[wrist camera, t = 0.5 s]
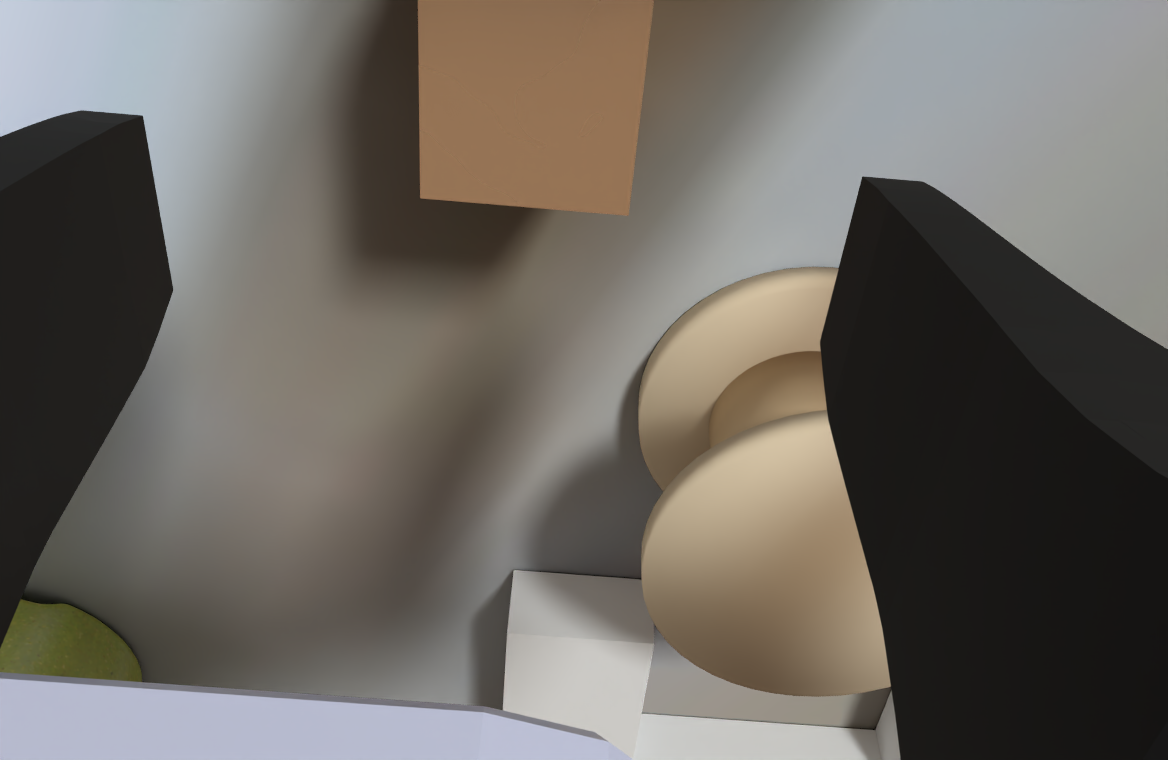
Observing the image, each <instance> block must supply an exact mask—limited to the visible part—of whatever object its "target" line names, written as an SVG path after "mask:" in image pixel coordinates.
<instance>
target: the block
mask: <svg viewBox="0 0 1168 760" xmlns="http://www.w3.org/2000/svg"><path fill="white" fill-rule="evenodd" d="M653 3H654V0H418V49H419V135H420V198H422V199H434V200H446V201H458V202H470V203H482V204H494V205H506V206H519V207H531V208H543V209H555V210H567V211H579V212H591V213H603V214H615V215H627V216H628V215H629V206H630V198H631V189H632V181H633V173H634V164H635V156H636V147H637V139H638V130H639V122H640V113H641V105H642V96H643V88H644V79H645V71H646V62H647V54H648V46H649V37H650V29H651V20H652V12H653Z"/></svg>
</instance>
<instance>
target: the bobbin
mask: <svg viewBox="0 0 1168 760" xmlns="http://www.w3.org/2000/svg"><path fill="white" fill-rule="evenodd" d="M838 269H839V268H833V267H801V268H790V269H783V270H778V271H773V272H767V273H763V274H760V275H756V276H753V277H750V278H747V279H744V280H741V281H738V282H736V283H734V284H732V285H729V286H727V287H725V288H722V289H720V290H719V291H717V292H715V293H713V294H712V295H710V296H708V297H707V298H705V299H703V300H702V301H700V302H699V303H698V304H696V305H695V306H694V307H692V308H691V309H690V310H688V311H687V312H686V313H684V314H683V315H682V316H681V317H680V318H679V319H678V320H677V321H676V322H675V323H674V324H673V325H672V326H671V327H670V328H669V330H668V331H667V332H666V333H665V335H664V336H663V337H662V338H661V340H660V341H659V342H658V344H657V346H656V347H655V349H654V351H653V353H652V354H651V356H650V358H649V360H648V363H647V365H646V368H645V370H644V373H643V376H642V380H641V385H640V389H639V402H638V421H639V437H640V446H641V450H642V453H643V457H644V460H645V463H646V465H647V467H648V469H649V471H650V473H651V475H652V477H653V478H654V480H655V481H656V483H657V484H658V485H659V487H660V488H661V490H662V491H663V493H662V494H661V496H660V498H659V499H658V501H657V502H656V504H655V505H654V507H653V509H652V512H651V514H650V516H649V518H648V521H647V523H646V527H645V531H644V535H643V539H642V551H641V577H642V588H643V596H644V600H645V603H646V606H647V609H648V612H649V615H650V617H651V618H652V620H653V622H654V624H655V626H656V628H657V629H658V630H659V632H660V633H661V634H662V636H663V637H664V638H665V639H666V641H667V642H668V643H669V644H670V645H671V646H672V647H673V648H674V649H675V650H676V651H677V652H678V653H680V654H681V655H682V656H683V657H685V658H686V659H688V660H689V661H690V662H692V663H693V664H694V665H696V666H698V667H699V668H701V669H703V670H705V671H707V672H709V673H710V674H712V675H714V676H717V677H719V678H722V679H724V680H726V681H729V682H731V683H734V684H738V685H741V686H744V687H747V688H751V689H755V690H760V691H765V692H770V693H776V694H784V695H793V696H818V697H819V696H839V695H848V694H856V693H864V692H869V691H874V690H878V689H883V688H888V687H891V684H890V677H889V670H888V663H887V656H886V650H885V643H884V636H883V630H882V625H881V620H880V616H879V611H878V607H877V602H876V598H875V593H874V589H873V585H872V582H871V578H870V574H869V571H868V567H867V563H866V560H865V556H864V552H863V549H862V545H861V541H860V538H859V534H858V530H857V527H856V523H855V519H854V516H853V512H852V508H851V505H850V501H849V497H848V494H847V490H846V486H845V483H844V479H843V475H842V471H841V468H840V464H839V460H838V456H837V452H836V449H835V445H834V441H833V437H832V433H831V429H830V425H829V421H828V414H827V406H826V398H825V390H824V381H823V370H822V360H821V349H820V339H821V335H822V331H823V327H824V324H825V320H826V316H827V312H828V308H829V304H830V300H831V296H832V293H833V289H834V285H835V281H836V277H837V273H838Z"/></svg>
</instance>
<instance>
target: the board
mask: <svg viewBox="0 0 1168 760" xmlns="http://www.w3.org/2000/svg"><path fill="white" fill-rule="evenodd" d="M653 649H654V622H653V620H652V618H651V617H650V615H649V612H648V609H647V606H646V603H645V600H644V596H643V588H642V580H641V579H628V578H614V577H601V576H587V575H574V574H561V573H547V572H534V571H520V570H514V572H513V581H512V591H511V601H510V610H509V620H508V630H507V645H506V662H505V680H504V697H503V711H507V712H512V713H516V714H520V715H524V716H529V717H533V718H537V719H541V720H546V721H550V722H554V723H558V724H563V725H567V726H571V727H575V728H580V729H584V730H588V731H592V732H595V733H597V734H598V735H600V736H601V737H603V738H604V739H606V740H607V741H608V742H610V743H611V744H613V745H614V746H615V747H617V748H618V749H619V750H621V751H622V752H624V753H625V754H626V755H628V756H629V757H630V758H632V759H633V760H901V759H900V751H899V742H898V734H897V726H896V718H895V711H894V704H893V697H892V690H891V692H890V695H889V697H888V700H887V702H886V705H885V707H884V710H883V712H882V715H881V717H880V720H879V722H878V725H877V727H876V730H866V729H852V728H838V727H824V726H810V725H796V724H782V723H768V722H754V721H740V720H726V719H712V718H698V717H683V716H669V715H655V714H642V709H643V703H644V698H645V692H646V687H647V681H648V676H649V671H650V665H651V660H652V654H653Z"/></svg>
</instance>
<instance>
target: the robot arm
mask: <svg viewBox="0 0 1168 760" xmlns="http://www.w3.org/2000/svg"><path fill="white" fill-rule="evenodd" d="M172 292H173V286H172V280H171V274H170V269H169V263H168V257H167V251H166V246H165V240H164V234H163V229H162V223H161V217H160V212H159V206H158V200H157V194H156V189H155V183H154V177H153V172H152V166H151V160H150V154H149V149H148V143H147V137H146V132H145V126H144V120H143V116H140V115H128V114H116V113H105V112H93V111H77V112H72V113H68V114H63V115H60V116H56V117H53V118H50V119H47V120H44V121H41V122H38V123H36V124H33V125H30V126H27V127H25V128H22V129H19V130H17V131H14V132H12V133H9V134H7V135H4V136H2V137H0V648H1V645H2V643H3V641H4V638H5V636H6V633H7V631H8V629H9V626H10V624H11V621H12V619H13V617H14V614H15V612H16V609H17V607H18V605H19V602H20V600H21V597H22V595H23V593H24V590H25V588H26V586H27V583H28V581H29V578H30V576H31V574H32V571H33V569H34V567H35V565H36V563H37V561H38V559H39V557H40V555H41V553H42V551H43V549H44V547H45V545H46V543H47V541H48V539H49V537H50V535H51V533H52V531H53V529H54V528H55V526H56V524H57V522H58V521H59V519H60V517H61V515H62V514H63V512H64V510H65V508H66V507H67V505H68V503H69V501H70V500H71V498H72V496H73V494H74V493H75V491H76V489H77V487H78V486H79V484H80V482H81V480H82V479H83V477H84V475H85V473H86V472H87V470H88V468H89V466H90V465H91V463H92V461H93V459H94V458H95V456H96V454H97V452H98V451H99V449H100V447H101V446H102V444H103V442H104V440H105V439H106V437H107V435H108V433H109V432H110V430H111V428H112V426H113V425H114V423H115V421H116V419H117V417H118V416H119V414H120V412H121V410H122V408H123V407H124V405H125V403H126V401H127V399H128V398H129V396H130V394H131V392H132V391H133V389H134V387H135V385H136V383H137V381H138V380H139V378H140V376H141V374H142V372H143V370H144V368H145V366H146V364H147V361H148V359H149V356H150V354H151V351H152V348H153V346H154V343H155V341H156V338H157V336H158V333H159V330H160V327H161V324H162V321H163V318H164V315H165V313H166V310H167V307H168V304H169V301H170V298H171V295H172ZM820 349H821V360H822V370H823V381H824V390H825V398H826V406H827V414H828V421H829V425H830V429H831V433H832V437H833V441H834V445H835V449H836V452H837V456H838V460H839V464H840V468H841V471H842V475H843V479H844V483H845V486H846V490H847V494H848V497H849V501H850V505H851V508H852V512H853V516H854V519H855V523H856V527H857V530H858V534H859V538H860V541H861V545H862V549H863V552H864V556H865V560H866V563H867V567H868V571H869V574H870V578H871V582H872V585H873V589H874V593H875V598H876V602H877V607H878V611H879V616H880V620H881V625H882V630H883V636H884V643H885V650H886V656H887V663H888V670H889V677H890V684H891V690H892V697H893V704H894V711H895V718H896V726H897V734H898V742H899V751H900V759H901V760H1168V349H1166V348H1164V347H1163V346H1161V345H1159V344H1158V343H1156V342H1154V341H1153V340H1151V339H1149V338H1148V337H1146V336H1144V335H1143V334H1141V333H1139V332H1138V331H1136V330H1134V329H1133V328H1131V327H1130V326H1128V325H1127V324H1125V323H1124V322H1122V321H1121V320H1119V319H1117V318H1116V317H1114V316H1113V315H1111V314H1110V313H1108V312H1107V311H1105V310H1104V309H1102V308H1101V307H1099V306H1098V305H1096V304H1095V303H1093V302H1091V301H1090V300H1088V299H1087V298H1085V297H1084V296H1082V295H1081V294H1080V293H1078V292H1077V291H1075V290H1074V289H1072V288H1071V287H1070V286H1068V285H1067V284H1065V283H1064V282H1062V281H1061V280H1060V279H1058V278H1057V277H1055V276H1054V275H1053V274H1051V273H1050V272H1048V271H1047V270H1046V269H1044V268H1043V267H1042V266H1040V265H1039V264H1038V263H1036V262H1035V261H1033V260H1032V259H1031V258H1029V257H1028V256H1027V255H1025V254H1024V253H1023V252H1021V251H1020V250H1019V249H1017V248H1016V247H1015V246H1013V245H1012V244H1011V243H1009V242H1008V241H1007V240H1005V239H1004V238H1003V237H1001V236H1000V235H999V234H997V233H996V232H995V231H994V230H992V229H991V228H990V227H988V226H987V225H986V224H984V223H983V222H982V221H980V220H979V219H978V218H976V217H975V216H974V215H972V214H971V213H970V212H968V211H967V210H966V209H964V208H963V207H961V206H960V205H959V204H957V203H956V202H955V201H953V200H952V199H950V198H949V197H947V196H946V195H944V194H943V193H941V192H940V191H938V190H937V189H935V188H933V187H932V186H930V185H928V184H926V183H924V182H920V181H909V180H897V179H885V178H873V177H862V180H861V184H860V188H859V192H858V196H857V200H856V204H855V207H854V211H853V215H852V219H851V223H850V227H849V231H848V235H847V238H846V242H845V246H844V250H843V254H842V258H841V262H840V266H839V269H838V273H837V277H836V281H835V285H834V289H833V293H832V296H831V300H830V304H829V308H828V312H827V316H826V320H825V324H824V327H823V331H822V335H821V339H820ZM0 760H633V759H632V758H630V757H629V756H628V755H626V754H625V753H624V752H622V751H621V750H619V749H618V748H617V747H615V746H614V745H613V744H611V743H610V742H608V741H607V740H606V739H604V738H603V737H601V736H600V735H598V734H597V733H595V732H592V731H588V730H584V729H580V728H575V727H571V726H567V725H563V724H558V723H554V722H550V721H546V720H541V719H537V718H533V717H529V716H524V715H520V714H516V713H512V712H507V711H503V710H499V709H495V708H490V707H486V706H474V705H460V704H446V703H432V702H417V701H403V700H389V699H375V698H360V697H346V696H332V695H318V694H303V693H289V692H275V691H261V690H247V689H232V688H218V687H204V686H190V685H175V684H161V683H147V682H133V681H118V680H104V679H90V678H76V677H61V676H47V675H33V674H19V673H4V672H0Z"/></svg>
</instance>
